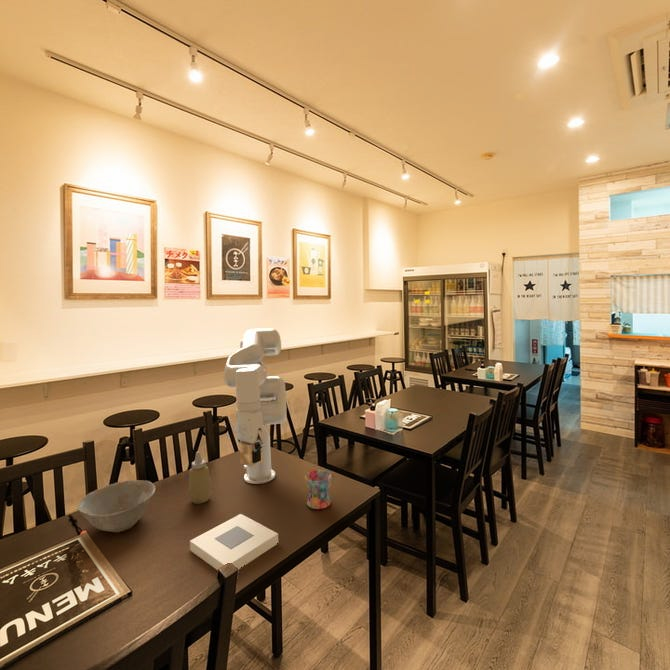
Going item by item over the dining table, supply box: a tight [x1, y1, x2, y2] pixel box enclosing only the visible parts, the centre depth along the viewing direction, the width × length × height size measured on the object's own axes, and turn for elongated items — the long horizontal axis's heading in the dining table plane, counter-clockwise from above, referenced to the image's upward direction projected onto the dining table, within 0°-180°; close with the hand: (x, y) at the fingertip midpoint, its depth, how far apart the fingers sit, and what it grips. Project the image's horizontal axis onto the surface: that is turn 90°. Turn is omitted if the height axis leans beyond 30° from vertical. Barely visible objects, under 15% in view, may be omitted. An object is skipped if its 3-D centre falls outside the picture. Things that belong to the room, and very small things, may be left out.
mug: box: [304, 469, 335, 510], centre depth 138 cm, size 12×9×11 cm
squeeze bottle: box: [188, 451, 213, 505], centre depth 142 cm, size 8×8×18 cm
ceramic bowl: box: [77, 479, 156, 533], centre depth 128 cm, size 22×23×10 cm
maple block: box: [238, 441, 262, 467], centre depth 129 cm, size 5×5×7 cm
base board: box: [189, 513, 279, 571], centre depth 115 cm, size 18×18×3 cm
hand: (251, 459), depth 129 cm, fingers closed on maple block, 5 cm apart
